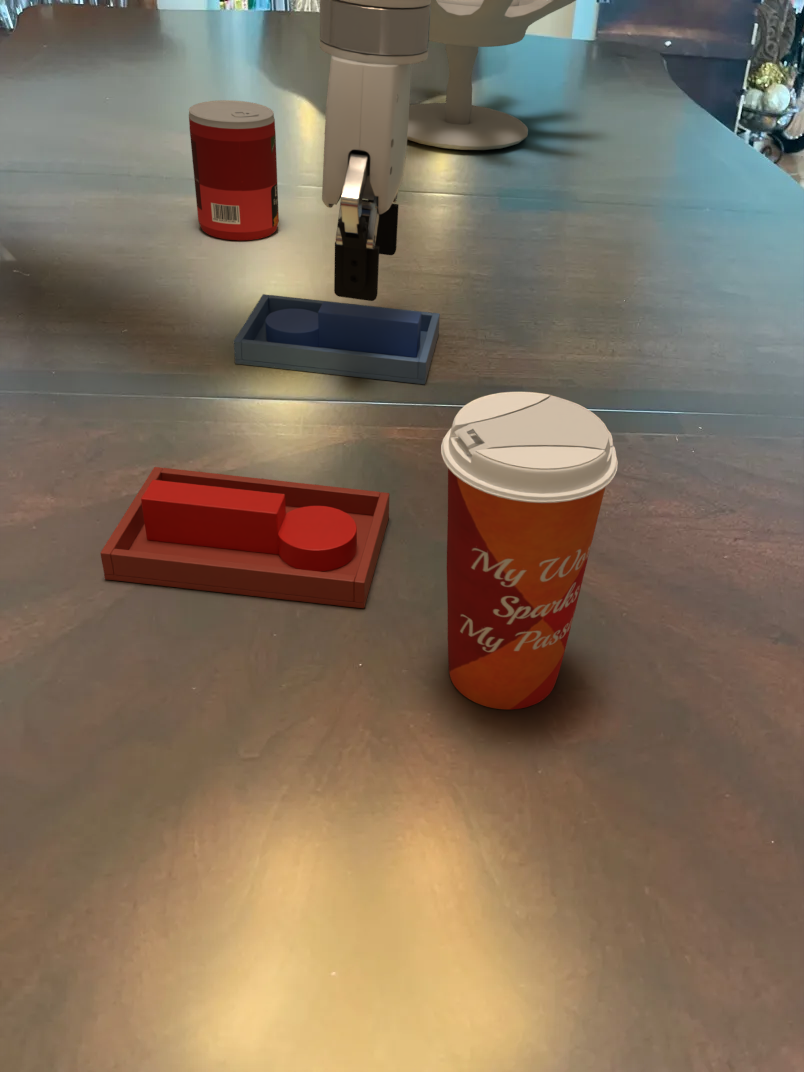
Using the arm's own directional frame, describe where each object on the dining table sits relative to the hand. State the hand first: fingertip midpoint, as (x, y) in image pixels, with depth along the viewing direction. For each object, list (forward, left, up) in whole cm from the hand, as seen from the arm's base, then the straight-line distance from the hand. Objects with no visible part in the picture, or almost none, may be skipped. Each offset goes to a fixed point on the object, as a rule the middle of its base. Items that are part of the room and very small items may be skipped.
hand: (366, 273), depth 83 cm
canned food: (-17, +25, -7) cm, 31 cm away
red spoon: (-2, -29, -6) cm, 30 cm away
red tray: (-2, -29, -6) cm, 30 cm away
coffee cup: (+14, -38, -7) cm, 41 cm away
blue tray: (-2, 0, -6) cm, 7 cm away
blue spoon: (-2, 0, -6) cm, 6 cm away
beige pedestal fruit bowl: (+1, +68, -7) cm, 68 cm away
